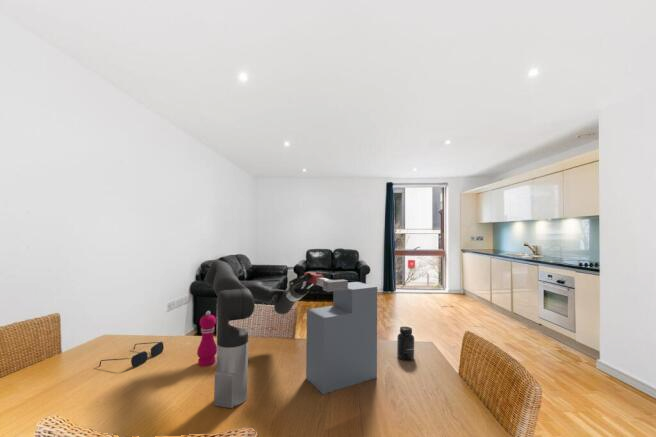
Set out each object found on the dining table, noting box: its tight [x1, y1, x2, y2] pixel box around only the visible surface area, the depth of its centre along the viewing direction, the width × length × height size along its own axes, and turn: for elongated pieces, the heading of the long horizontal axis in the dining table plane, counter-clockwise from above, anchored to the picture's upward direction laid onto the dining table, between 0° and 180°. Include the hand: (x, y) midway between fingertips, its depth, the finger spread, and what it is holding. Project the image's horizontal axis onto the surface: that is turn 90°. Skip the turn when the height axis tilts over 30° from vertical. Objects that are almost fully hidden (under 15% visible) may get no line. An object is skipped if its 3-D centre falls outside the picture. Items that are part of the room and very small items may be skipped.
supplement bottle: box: [396, 326, 415, 361], centre depth 126 cm, size 7×7×12 cm
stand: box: [305, 281, 378, 395], centre depth 108 cm, size 12×22×32 cm, turn 121°
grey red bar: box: [304, 271, 349, 293], centre depth 111 cm, size 22×8×3 cm, turn 31°
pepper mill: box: [196, 310, 217, 367], centre depth 119 cm, size 7×7×20 cm
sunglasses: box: [98, 341, 165, 368], centre depth 122 cm, size 17×15×5 cm
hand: (314, 274), depth 116 cm, fingers closed on grey red bar, 3 cm apart
